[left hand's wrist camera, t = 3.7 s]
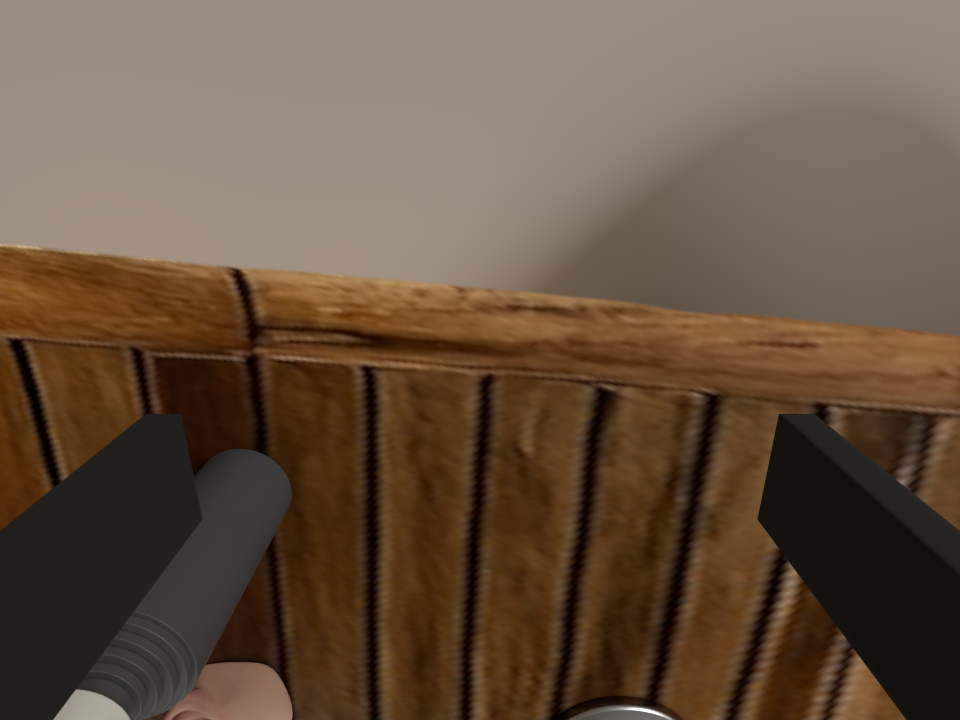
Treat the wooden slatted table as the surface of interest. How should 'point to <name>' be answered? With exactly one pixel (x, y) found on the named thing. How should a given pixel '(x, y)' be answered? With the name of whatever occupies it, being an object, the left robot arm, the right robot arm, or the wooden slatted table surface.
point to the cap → (91, 708)
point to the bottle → (195, 587)
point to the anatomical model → (235, 694)
